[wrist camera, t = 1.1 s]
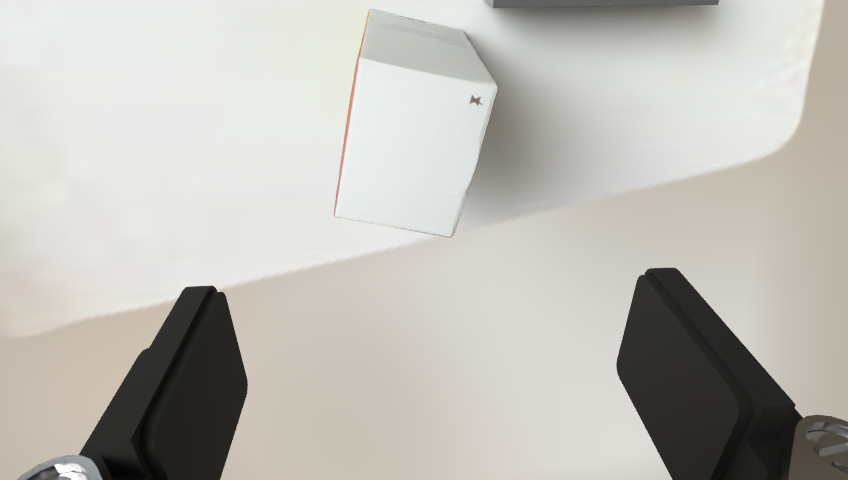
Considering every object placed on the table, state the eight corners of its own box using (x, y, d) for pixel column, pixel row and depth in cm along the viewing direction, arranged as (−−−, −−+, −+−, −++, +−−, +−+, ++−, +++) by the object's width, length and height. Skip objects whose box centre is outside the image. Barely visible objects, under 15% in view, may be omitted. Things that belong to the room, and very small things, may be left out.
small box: (368, 6, 32) (356, 52, 21) (465, 29, 33) (503, 84, 22) (349, 128, 36) (331, 220, 25) (436, 145, 37) (456, 240, 26)
